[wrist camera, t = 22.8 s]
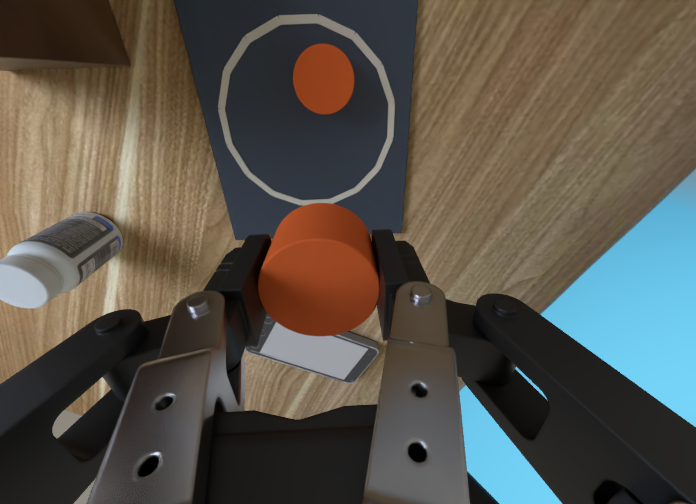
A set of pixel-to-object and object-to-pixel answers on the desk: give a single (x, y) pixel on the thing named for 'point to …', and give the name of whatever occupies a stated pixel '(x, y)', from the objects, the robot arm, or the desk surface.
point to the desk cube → (59, 35)
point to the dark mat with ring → (292, 116)
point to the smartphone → (316, 351)
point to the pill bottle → (57, 259)
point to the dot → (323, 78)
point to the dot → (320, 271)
